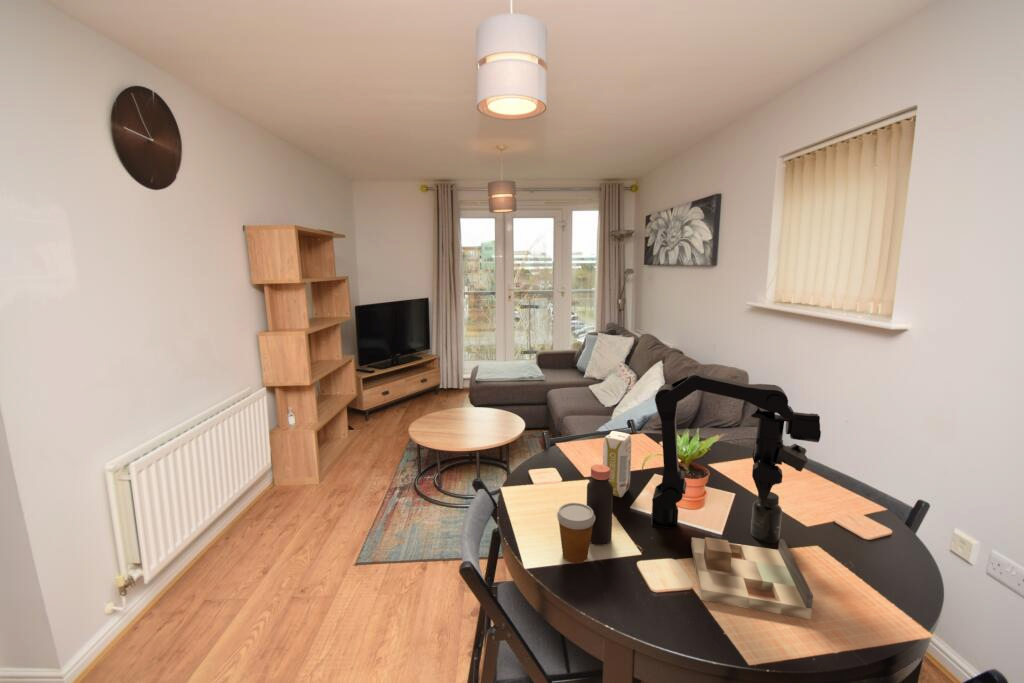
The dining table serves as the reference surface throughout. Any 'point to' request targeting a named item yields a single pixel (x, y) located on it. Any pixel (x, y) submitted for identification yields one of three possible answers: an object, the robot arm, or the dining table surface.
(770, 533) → the supplement bottle
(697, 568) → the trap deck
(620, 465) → the juice carton
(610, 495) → the black water bottle
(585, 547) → the disposable coffee cup
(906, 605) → the dining table surface
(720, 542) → the walnut block
